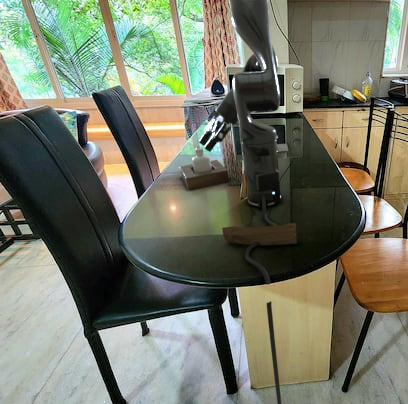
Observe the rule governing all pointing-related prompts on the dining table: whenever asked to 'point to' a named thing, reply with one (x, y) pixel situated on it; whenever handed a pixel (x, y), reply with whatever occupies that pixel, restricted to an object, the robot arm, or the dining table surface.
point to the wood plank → (262, 234)
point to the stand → (204, 175)
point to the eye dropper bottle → (201, 161)
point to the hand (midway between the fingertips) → (203, 146)
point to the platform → (282, 147)
